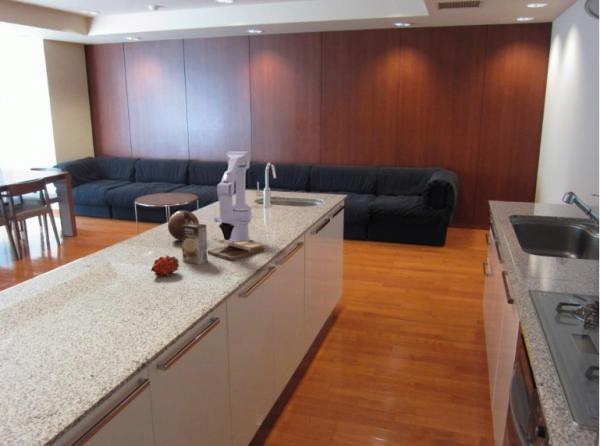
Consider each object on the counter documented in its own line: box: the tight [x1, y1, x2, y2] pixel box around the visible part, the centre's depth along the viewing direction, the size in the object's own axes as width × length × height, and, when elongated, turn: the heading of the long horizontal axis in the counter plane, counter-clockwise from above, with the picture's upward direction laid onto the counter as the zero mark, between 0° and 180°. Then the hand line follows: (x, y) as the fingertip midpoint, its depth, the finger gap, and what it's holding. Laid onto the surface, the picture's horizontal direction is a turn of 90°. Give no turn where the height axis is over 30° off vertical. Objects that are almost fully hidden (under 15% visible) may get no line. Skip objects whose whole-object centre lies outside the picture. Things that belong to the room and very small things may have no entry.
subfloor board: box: [207, 240, 265, 262], centre depth 224 cm, size 16×20×3 cm
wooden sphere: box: [167, 210, 200, 242], centre depth 242 cm, size 15×15×15 cm
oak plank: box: [213, 237, 251, 251], centre depth 221 cm, size 14×10×1 cm
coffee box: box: [181, 223, 208, 265], centre depth 210 cm, size 9×6×16 cm
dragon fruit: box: [150, 254, 180, 277], centre depth 194 cm, size 8×8×12 cm
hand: (227, 239), depth 219 cm, fingers closed
